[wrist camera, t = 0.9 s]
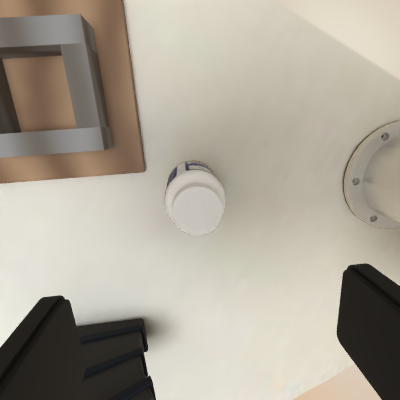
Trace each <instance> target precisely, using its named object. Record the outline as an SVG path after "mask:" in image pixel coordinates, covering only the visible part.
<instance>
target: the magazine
mask: <svg viewBox="0 0 400 400" xmlns="http://www.w3.org/2000/svg"><path fill="white" fill-rule="evenodd" d="M77 331H78V335H79V339H80V342H81V346H82V350H83V354H84V358H85V362H86V369H85V374H84V377H83V379H82V382H81V385H80V387H79V390H78V392H77V395H76V397H75V400H156V397H155V392H154V387H153V382H152V379H151V377H150V376H148V373H147V367H146V362H145V357H144V352H147V351H148V344H147V339H146V333H145V328H144V322H143V320H142V319H135V320H127V321H120V322H112V323H104V324H96V325H88V326H81V327H77ZM147 376H148V377H147Z"/></svg>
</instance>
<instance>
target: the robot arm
mask: <svg viewBox="0 0 400 400" xmlns="http://www.w3.org/2000/svg"><path fill="white" fill-rule="evenodd" d="M344 194H345V197H346V201H347V203H348V205H349V207H350V209H351V211H352V212H353V213H354V214H355V215H356V216H357V217H358V218H360V219H361V220H362V221H364V222H366V223H368V224H370V225H373V226H376V227H379V228H398V227H400V121H397V122H394V123H390V124H387V125H385V126H383V127H381V128H379V129H378V130H376V131H375V132H373V133H372V134H370V135H369V136H368V137H367V138H366V139H365V140H364V141H363V142H362V143H361V144H360V145H359V147H358V148H357V149H356V151H355V152H354V154H353V156H352V157H351V159H350V161H349V163H348V166H347V169H346V173H345V179H344ZM337 337H338V340H339V342H340V344H341V345H342V346H343V348H344V349H345V351H346V352H347V353H348V355H349V356H350V357H351V359H352V360H353V361H354V363H355V364H356V365H357V367H358V368H359V369H360V371H361V372H362V373H363V375H364V376H365V378H366V379H367V380H368V382H369V383H370V384H371V386H372V387H373V388H374V390H375V391H376V392H377V394H378V395H379V396H380V398H381V399H382V400H400V286H399V285H397V284H396V283H395V282H393V281H392V280H390V279H389V278H388V277H386V276H385V275H383V274H382V273H381V272H379V271H378V270H377V269H375V268H374V267H372V266H371V265H369V264H357V265H350V266H348V268H347V270H345V271H344V272H343V279H342V288H341V297H340V306H339V316H338V325H337ZM85 369H86V362H85V358H84V354H83V350H82V346H81V342H80V339H79V335H78V331H77V327H76V323H75V319H74V315H73V312H72V308H71V304H70V301H69V300H65V298H64V297H63V296H51V297H43V298H41V299H40V300H39V301H38V302H37V304H36V305H35V306H34V307H33V309H32V310H31V311H30V312H29V313H28V315H27V316H26V317H25V318H24V320H23V321H22V322H21V323H20V324H19V326H18V327H17V328H16V329H15V330H14V332H13V333H12V334H11V335H10V337H9V338H8V339H7V340H6V341H5V343H4V344H3V345H2V346H1V348H0V400H75V397H76V395H77V392H78V390H79V387H80V385H81V382H82V379H83V377H84V374H85Z"/></svg>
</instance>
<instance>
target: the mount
mask: <svg viewBox="0 0 400 400" xmlns="http://www.w3.org/2000/svg"><path fill="white" fill-rule="evenodd" d="M144 171H145V163H144V156H143V148H142V140H141V133H140V125H139V118H138V110H137V103H136V95H135V87H134V80H133V72H132V65H131V57H130V50H129V42H128V35H127V27H126V19H125V12H124V4H123V0H0V183H13V182H26V181H38V180H51V179H63V178H76V177H88V176H101V175H114V174H126V173H139V172H144Z"/></svg>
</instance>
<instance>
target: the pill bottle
mask: <svg viewBox="0 0 400 400" xmlns="http://www.w3.org/2000/svg"><path fill="white" fill-rule="evenodd" d="M225 204H226V195H225V191H224V189H223V186H222V185H221V183H220V181H219V180H218V179H217V177H216V176H215V175H214V173H213V172H212V170H211V169H210V168H209V167H208V166H206V165H205V164H203V163H201V162H198V161H187V162H184V163H181V164H179V165H178V166H177V167H176V168H175V169H174V170H173V171H172V172H171V174H170V176H169V179H168V183H167V188H166V192H165V207H166V211H167V213H168V215H169V216H170V218H171V219H172V220H173V221H174V223H175V224H176V226H177V227H178V228H179V229H180V230H181V231H183V232H185V233H187V234H190V235H204V234H207V233H209V232H211V231H213V230H214V229H215V228H216V227H217V226H218V225H219V223H220V221H221V219H222V217H223V211H224V209H225Z"/></svg>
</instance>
